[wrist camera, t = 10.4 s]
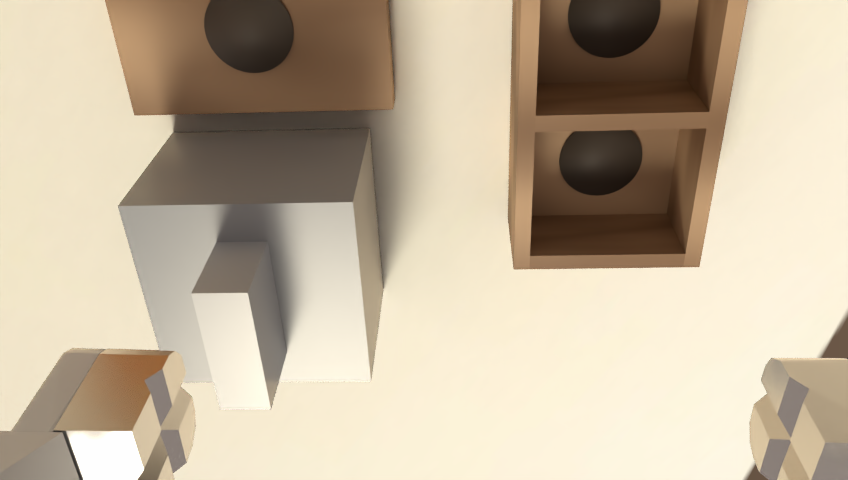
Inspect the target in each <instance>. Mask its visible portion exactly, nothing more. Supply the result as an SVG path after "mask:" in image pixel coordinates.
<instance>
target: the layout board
mask: <svg viewBox="0 0 848 480" xmlns="http://www.w3.org/2000/svg"><path fill="white" fill-rule="evenodd" d="M105 2H106V6H107V10H108V14H109V18H110V22H111V25H112V29H113V33H114V37H115V41H116V45H117V49H118V53H119V57H120V60H121V64H122V68H123V72H124V76H125V80H126V84H127V88H128V92H129V95H130V99H131V103H132V107H133V111H134V115H172V114H215V113H257V112H300V111H342V110H385V109H393V107H394V101H395V95H394V79H393V63H392V47H391V31H390V15H389V0H105Z"/></svg>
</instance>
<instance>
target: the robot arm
mask: <svg viewBox="0 0 848 480" xmlns="http://www.w3.org/2000/svg"><path fill="white" fill-rule="evenodd" d="M185 375H186V370H185V366H184V363H183V359H182V356H181V354H179V353H177V352H176V351H161V350H132V349H106V350H105V349H85V348H72V349H70V350H68V351H67V352H65V353H64V354H63V355H62V356H61V357H60V359H59V360H58V362H57V363H56V365H55V366H54V368H53V369H52V371H51V372H50V374H49V375H48V377H47V378H46V380H45V381H44V383H43V384H42V386H41V387H40V389H39V390H38V392H37V393H36V395H35V396H34V398H33V399H32V401H31V402H30V404H29V405H28V407H27V408H26V410H25V411H24V413H23V414H22V416H21V417H20V419H19V420H18V422H17V423H16V425H15V426H14V428H13V429H12V431H0V480H174V476H173V473H174V472H175V471H177V470H178V469H179V468H180V467H182V466H183V465H184V464H185V463H187V460H188V457H189V455H190V452H191V449H192V446H193V440H194V434H195V427H196V422H195V408H194V403H193V399H192V396H191V395H190V394H189V393H187V392H186V391H185V390H184V389H183V388H182V387H181V384H182V382H183V380H184V377H185ZM761 381H762V383H763V385H764V388H765V390H766V392H767V394H766V395H765V396H764V397H763V398H761V399H760V400H759V401H758V402H756V403H755V404H754V406H753V410H752V415H751V419H750V445H751V449H752V454H753V458H754V460H755V463H756V465H757V468H758V470H759V472H760V473H761V474H762V475H763V476H765V477H766V478H767V479H768V480H848V358H846V359H842V358H771V359H770V360H769V362H768V363H767V364H766V366H765V369H764V372H763V375H762V378H761Z"/></svg>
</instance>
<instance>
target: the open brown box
mask: <svg viewBox="0 0 848 480" xmlns="http://www.w3.org/2000/svg"><path fill="white" fill-rule="evenodd" d="M747 3H748V0H513V12H512V58H511V103H510V149H509V195H508V223H509V232H510V241H511V250H512V259H513V267H514V269H576V268H653V267H699V266H700V260H701V255H702V249H703V244H704V238H705V233H706V227H707V222H708V217H709V211H710V206H711V200H712V195H713V189H714V184H715V178H716V173H717V167H718V162H719V156H720V151H721V145H722V140H723V134H724V129H725V123H726V118H727V113H728V107H729V102H730V96H731V91H732V85H733V80H734V74H735V69H736V63H737V58H738V52H739V47H740V41H741V36H742V30H743V25H744V20H745V14H746V9H747Z"/></svg>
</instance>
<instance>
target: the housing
mask: <svg viewBox="0 0 848 480" xmlns="http://www.w3.org/2000/svg"><path fill="white" fill-rule="evenodd" d="M118 208H119V212H120V215H121V219H122V222H123V226H124V229H125V232H126V236H127V239H128V243H129V246H130V250H131V253H132V257H133V260H134V264H135V267H136V271H137V274H138V278H139V281H140V284H141V288H142V291H143V295H144V298H145V302H146V305H147V309H148V312H149V316H150V319H151V323H152V326H153V330H154V333H155V336H156V340H157V343H158V347H159V350H161V351H176V352H177V353H179V354H181V356H182V359H183V363H184V366H185V370H186V375H185V377H184V380H183V382H182V383H213V384H214V388H215V392H216V396H217V400H218V404H219V408H220V410H244V409H271V407H272V404H273V400H274V397H275V393H276V390H277V386H278V383H279V382H371V379H372V371H373V364H374V356H375V349H376V341H377V334H378V327H379V319H380V312H381V304H382V297H383V281H382V269H381V257H380V245H379V233H378V221H377V209H376V197H375V184H374V172H373V160H372V148H371V136H370V128H358V129H313V130H268V131H222V132H177V133H172V135H171V136H170V137H169V139H168V140H167V141H166V143H165V144H164V145H163V147H162V148H161V149H160V151H159V152H158V153H157V155H156V156H155V157H154V159H153V160H152V161H151V163H150V164H149V165H148V167H147V168H146V169H145V171H144V172H143V173H142V175H141V176H140V177H139V179H138V180H137V181H136V183H135V184H134V185H133V187H132V188H131V189H130V191H129V192H128V193H127V195H126V196H125V197H124V199H123V200H122V201H121V203H120V204H119V205H118Z"/></svg>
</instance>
